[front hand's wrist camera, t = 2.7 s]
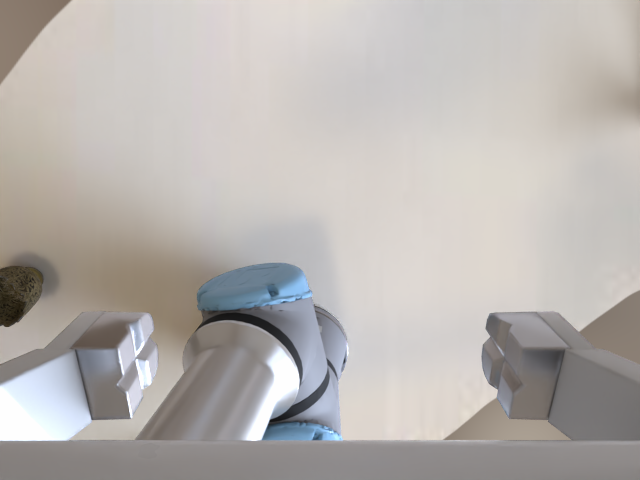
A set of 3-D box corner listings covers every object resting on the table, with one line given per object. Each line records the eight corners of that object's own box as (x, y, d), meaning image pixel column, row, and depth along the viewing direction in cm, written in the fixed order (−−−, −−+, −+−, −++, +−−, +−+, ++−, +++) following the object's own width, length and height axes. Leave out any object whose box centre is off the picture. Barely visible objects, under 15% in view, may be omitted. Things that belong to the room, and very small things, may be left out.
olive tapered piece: (65, 267, 62) (30, 293, 54) (50, 306, 64) (15, 336, 57) (14, 244, 61) (-29, 267, 53) (1, 285, 63) (-42, 312, 55)
